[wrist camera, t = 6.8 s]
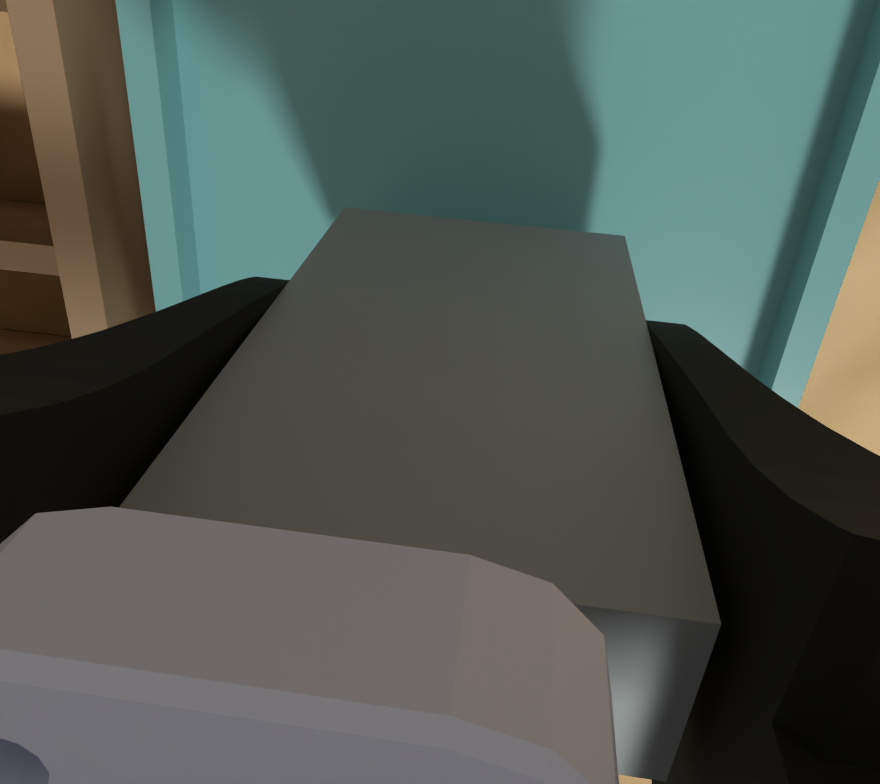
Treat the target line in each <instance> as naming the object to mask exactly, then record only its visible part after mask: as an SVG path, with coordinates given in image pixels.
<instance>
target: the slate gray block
mask: <svg viewBox="0 0 880 784" xmlns="http://www.w3.org/2000/svg"><path fill="white" fill-rule="evenodd" d="M119 508H125V509H132V510H140V511H147V512H155V513H162V514H169V515H177V516H184V517H192V518H199V519H207V520H214V521H222V522H229V523H237V524H244V525H252V526H259V527H266V528H274V529H281V530H289V531H296V532H304V533H311V534H319V535H326V536H334V537H341V538H348V539H356V540H363V541H371V542H378V543H386V544H393V545H401V546H408V547H416V548H423V549H431V550H438V551H445V552H453V553H460V554H468V555H472V556H475V557H478V558H481V559H484V560H487V561H490V562H492V563H495V564H498V565H501V566H504V567H507V568H510V569H513V570H516V571H519V572H522V573H524V574H527V575H530V576H533V577H536V578H539V579H542V580H545V581H548V582H551V583H553V584H554V585H555V586H556V587H557V588H558V589H559V590H560V591H561V592H562V593H563V594H564V595H565V596H566V597H567V598H568V599H569V600H570V601H571V602H572V603H573V604H574V605H575V606H576V607H577V608H578V609H579V610H580V611H581V612H582V613H583V614H584V616H585V617H586V618H587V619H588V620H589V621H590V622H591V623H592V624H593V625H594V626H595V627H596V628H597V629H598V630H599V631H600V632H601V633H602V634H603V635H604V639H605V647H606V654H607V662H608V670H609V678H610V685H611V694H612V706H613V718H614V730H615V742H616V754H617V767H618V774H619V775H626V776H632V777H639V778H646V779H652V780H659V781H666V780H667V777H668V774H669V772H670V769H671V766H672V763H673V760H674V757H675V755H676V752H677V749H678V746H679V743H680V740H681V738H682V735H683V732H684V729H685V726H686V723H687V720H688V718H689V715H690V712H691V709H692V706H693V703H694V701H695V698H696V695H697V692H698V689H699V686H700V684H701V681H702V678H703V675H704V672H705V669H706V666H707V664H708V661H709V658H710V655H711V652H712V649H713V647H714V644H715V641H716V638H717V635H718V632H719V630H720V627H721V621H720V617H719V613H718V609H717V605H716V600H715V596H714V592H713V588H712V584H711V580H710V576H709V572H708V568H707V564H706V560H705V556H704V552H703V548H702V544H701V540H700V536H699V532H698V528H697V524H696V520H695V516H694V512H693V508H692V504H691V500H690V496H689V492H688V488H687V484H686V480H685V476H684V472H683V468H682V464H681V460H680V456H679V452H678V448H677V444H676V440H675V436H674V432H673V428H672V424H671V420H670V416H669V411H668V407H667V403H666V399H665V395H664V391H663V387H662V383H661V379H660V375H659V371H658V367H657V363H656V359H655V355H654V351H653V347H652V343H651V339H650V335H649V331H648V327H647V323H646V319H645V315H644V311H643V307H642V303H641V299H640V295H639V291H638V287H637V283H636V279H635V275H634V271H633V267H632V263H631V259H630V255H629V251H628V247H627V243H626V239H625V236H622V235H612V234H602V233H592V232H582V231H573V230H563V229H553V228H543V227H533V226H523V225H514V224H504V223H494V222H484V221H474V220H464V219H454V218H445V217H435V216H425V215H415V214H405V213H395V212H386V211H376V210H366V209H356V208H346V207H345V208H344V209H343V210H342V211H341V213H340V214H339V215H338V217H337V218H336V219H335V221H334V222H333V223H332V225H331V226H330V227H329V229H328V230H327V231H326V233H325V234H324V235H323V237H322V238H321V239H320V241H319V242H318V243H317V245H316V246H315V247H314V249H313V250H312V251H311V253H310V254H309V255H308V257H307V258H306V259H305V261H304V262H303V263H302V265H301V266H300V267H299V269H298V270H297V271H296V273H295V274H294V275H293V277H292V278H291V279H290V281H289V282H288V283H287V285H286V286H285V287H284V289H283V290H282V291H281V293H280V294H279V295H278V297H277V298H276V299H275V301H274V302H273V303H272V305H271V306H270V307H269V309H268V310H267V311H266V313H265V314H264V315H263V317H262V318H261V319H260V321H259V322H258V323H257V325H256V326H255V327H254V329H253V330H252V331H251V332H250V334H249V335H248V336H247V338H246V339H245V340H244V342H243V343H242V344H241V346H240V347H239V348H238V350H237V351H236V352H235V354H234V355H233V356H232V358H231V359H230V360H229V362H228V363H227V364H226V366H225V367H224V368H223V370H222V371H221V372H220V374H219V375H218V376H217V378H216V379H215V380H214V382H213V383H212V384H211V386H210V387H209V388H208V390H207V391H206V392H205V394H204V395H203V396H202V398H201V399H200V400H199V402H198V403H197V404H196V406H195V407H194V408H193V410H192V411H191V412H190V414H189V415H188V416H187V418H186V419H185V420H184V422H183V423H182V424H181V426H180V427H179V428H178V430H177V431H176V432H175V434H174V435H173V436H172V438H171V439H170V440H169V442H168V443H167V444H166V446H165V447H164V448H163V450H162V451H161V452H160V453H159V455H158V456H157V457H156V459H155V460H154V461H153V463H152V464H151V465H150V467H149V468H148V469H147V471H146V472H145V473H144V475H143V476H142V477H141V479H140V480H139V481H138V483H137V484H136V485H135V487H134V488H133V489H132V491H131V492H130V493H129V495H128V496H127V497H126V499H125V500H124V501H123V503H122V504H121V505H120V507H119Z"/></svg>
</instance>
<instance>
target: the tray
mask: <svg viewBox="0 0 880 784" xmlns="http://www.w3.org/2000/svg"><path fill="white" fill-rule="evenodd" d="M115 2H116V10H117V17H118V25H119V33H120V40H121V48H122V56H123V63H124V71H125V79H126V86H127V94H128V102H129V109H130V117H131V125H132V132H133V140H134V148H135V155H136V163H137V171H138V178H139V186H140V194H141V201H142V209H143V217H144V224H145V232H146V240H147V247H148V255H149V263H150V270H151V278H152V286H153V293H154V301H155V309H156V311H159V310H162V309H165V308H167V307H170V306H172V305H175V304H177V303H180V302H182V301H185V300H188V299H190V298H193V297H195V296H198V295H200V294H203V293H205V292H208V291H211V290H213V289H216V288H218V287H221V286H224V285H226V284H229V283H232V282H235V281H238V280H242V279H245V278H250V277H265V278H274V279H283V280H290V279H291V278H292V277H293V275H294V274H295V273H296V271H297V270H298V269H299V267H300V266H301V265H302V263H303V262H304V261H305V259H306V258H307V257H308V255H309V254H310V253H311V251H312V250H313V249H314V247H315V246H316V245H317V243H318V242H319V241H320V239H321V238H322V237H323V235H324V234H325V233H326V231H327V230H328V229H329V227H330V226H331V225H332V223H333V222H334V221H335V219H336V218H337V217H338V215H339V214H340V213H341V211H342V210H343V209H344V208H345V207H346V208H356V209H366V210H376V211H386V212H395V213H405V214H415V215H425V216H435V217H445V218H454V219H464V220H474V221H484V222H494V223H504V224H514V225H523V226H533V227H543V228H553V229H563V230H573V231H582V232H592V233H602V234H612V235H622V236H625V239H626V243H627V247H628V251H629V255H630V259H631V263H632V267H633V271H634V275H635V279H636V283H637V287H638V291H639V295H640V299H641V303H642V307H643V311H644V315H645V319H646V320H651V321H659V322H668V323H677V324H685V325H687V326H689V327H691V328H692V329H694V330H695V331H697V332H698V333H699V334H701V335H702V336H703V337H705V338H706V339H707V340H709V341H710V342H711V343H712V344H714V345H715V346H716V347H717V348H719V349H720V350H721V351H722V352H724V353H725V354H726V355H727V356H728V357H730V358H731V359H732V360H734V361H735V362H736V363H737V364H739V365H740V366H741V367H742V368H744V369H745V370H746V371H747V372H749V373H750V374H751V375H753V376H754V377H755V378H756V379H758V380H759V381H760V382H762V383H763V384H764V385H766V386H767V387H768V388H770V389H771V390H773V391H774V392H775V393H777V394H778V395H779V396H781V397H782V398H784V399H785V400H787V401H788V402H790V403H791V404H793V405H794V406H796V407H797V408H798V406H799V403H800V400H801V398H802V395H803V392H804V389H805V386H806V384H807V381H808V378H809V375H810V372H811V369H812V367H813V364H814V361H815V358H816V355H817V353H818V350H819V347H820V344H821V341H822V339H823V336H824V333H825V330H826V327H827V325H828V322H829V319H830V316H831V313H832V310H833V308H834V305H835V302H836V299H837V296H838V294H839V291H840V288H841V285H842V282H843V280H844V277H845V274H846V271H847V268H848V266H849V263H850V260H851V257H852V254H853V251H854V249H855V246H856V243H857V240H858V237H859V235H860V232H861V229H862V226H863V223H864V221H865V218H866V215H867V212H868V209H869V207H870V204H871V201H872V198H873V195H874V193H875V190H876V187H877V184H878V181H879V178H880V0H115Z"/></svg>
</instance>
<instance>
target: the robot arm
mask: <svg viewBox="0 0 880 784" xmlns="http://www.w3.org/2000/svg"><path fill="white" fill-rule="evenodd" d="M289 281H290V280H283V279H274V278H265V277H250V278H245V279H242V280H238V281H235V282H232V283H229V284H226V285H224V286H221V287H218V288H216V289H213V290H211V291H208V292H205V293H203V294H200V295H198V296H195V297H193V298H190V299H188V300H185V301H182V302H180V303H177V304H175V305H172V306H170V307H167V308H165V309H162V310H159V311H156V312H154V313H151V314H148V315H145V316H142V317H139V318H136V319H133V320H130V321H128V322H125V323H122V324H119V325H116V326H113V327H110V328H107V329H105V330H101V331H98V332H95V333H91V334H88V335H84V336H81V337H77V338H74V339H70V340H66V341H62V342H58V343H54V344H50V345H46V346H41V347H37V348H33V349H28V350H24V351H19V352H13V353H7V354H1V355H0V784H619V779H618V767H617V754H616V742H615V730H614V718H613V706H612V694H611V685H610V678H609V670H608V662H607V654H606V647H605V639H604V635H603V634H602V633H601V632H600V631H599V630H598V629H597V628H596V627H595V626H594V625H593V624H592V623H591V622H590V621H589V620H588V619H587V618H586V617H585V616H584V614H583V613H582V612H581V611H580V610H579V609H578V608H577V607H576V606H575V605H574V604H573V603H572V602H571V601H570V600H569V599H568V598H567V597H566V596H565V595H564V594H563V593H562V592H561V591H560V590H559V589H558V588H557V587H556V586H555V585H554V584H553V583H551V582H548V581H545V580H542V579H539V578H536V577H533V576H530V575H527V574H524V573H522V572H519V571H516V570H513V569H510V568H507V567H504V566H501V565H498V564H495V563H492V562H490V561H487V560H484V559H481V558H478V557H475V556H472V555H468V554H460V553H453V552H445V551H438V550H431V549H423V548H416V547H408V546H401V545H393V544H386V543H378V542H371V541H363V540H356V539H348V538H341V537H334V536H326V535H319V534H311V533H304V532H296V531H289V530H281V529H274V528H266V527H259V526H252V525H244V524H237V523H229V522H222V521H214V520H207V519H199V518H192V517H184V516H177V515H169V514H162V513H155V512H147V511H140V510H132V509H125V508H119V507H120V505H121V504H122V503H123V501H124V500H125V499H126V497H127V496H128V495H129V493H130V492H131V491H132V489H133V488H134V487H135V485H136V484H137V483H138V481H139V480H140V479H141V477H142V476H143V475H144V473H145V472H146V471H147V469H148V468H149V467H150V465H151V464H152V463H153V461H154V460H155V459H156V457H157V456H158V455H159V453H160V452H161V451H162V450H163V448H164V447H165V446H166V444H167V443H168V442H169V440H170V439H171V438H172V436H173V435H174V434H175V432H176V431H177V430H178V428H179V427H180V426H181V424H182V423H183V422H184V420H185V419H186V418H187V416H188V415H189V414H190V412H191V411H192V410H193V408H194V407H195V406H196V404H197V403H198V402H199V400H200V399H201V398H202V396H203V395H204V394H205V392H206V391H207V390H208V388H209V387H210V386H211V384H212V383H213V382H214V380H215V379H216V378H217V376H218V375H219V374H220V372H221V371H222V370H223V368H224V367H225V366H226V364H227V363H228V362H229V360H230V359H231V358H232V356H233V355H234V354H235V352H236V351H237V350H238V348H239V347H240V346H241V344H242V343H243V342H244V340H245V339H246V338H247V336H248V335H249V334H250V332H251V331H252V330H253V329H254V327H255V326H256V325H257V323H258V322H259V321H260V319H261V318H262V317H263V315H264V314H265V313H266V311H267V310H268V309H269V307H270V306H271V305H272V303H273V302H274V301H275V299H276V298H277V297H278V295H279V294H280V293H281V291H282V290H283V289H284V287H285V286H286V285H287V283H288V282H289ZM646 323H647V327H648V331H649V335H650V339H651V343H652V347H653V351H654V355H655V359H656V363H657V367H658V371H659V375H660V379H661V383H662V387H663V391H664V395H665V399H666V403H667V407H668V411H669V416H670V420H671V424H672V428H673V432H674V436H675V440H676V444H677V448H678V452H679V456H680V460H681V464H682V468H683V472H684V476H685V480H686V484H687V488H688V492H689V496H690V500H691V504H692V508H693V512H694V516H695V520H696V524H697V528H698V532H699V536H700V540H701V544H702V548H703V552H704V556H705V560H706V564H707V568H708V572H709V576H710V580H711V584H712V588H713V592H714V596H715V600H716V605H717V609H718V613H719V617H720V621H721V627H720V630H719V632H718V635H717V638H716V641H715V644H714V647H713V649H712V652H711V655H710V658H709V661H708V664H707V666H706V669H705V672H704V675H703V678H702V681H701V684H700V686H699V689H698V692H697V695H696V698H695V701H694V703H693V706H692V709H691V712H690V715H689V718H688V720H687V723H686V726H685V729H684V732H683V735H682V738H681V740H680V743H679V746H678V749H677V752H676V755H675V757H674V760H673V763H672V766H671V769H670V772H669V774H668V777H667V780H666V781H659V780H652V784H880V456H878V455H876V454H875V453H873V452H871V451H869V450H867V449H865V448H864V447H862V446H860V445H858V444H856V443H855V442H853V441H851V440H849V439H847V438H846V437H844V436H842V435H840V434H838V433H837V432H835V431H833V430H831V429H830V428H828V427H826V426H825V425H823V424H821V423H820V422H818V421H817V420H815V419H813V418H812V417H810V416H809V415H807V414H806V413H804V412H803V411H801V410H800V409H799V408H797V407H796V406H794V405H793V404H791V403H790V402H788V401H787V400H785V399H784V398H782V397H781V396H779V395H778V394H777V393H775V392H774V391H773V390H771V389H770V388H768V387H767V386H766V385H764V384H763V383H762V382H760V381H759V380H758V379H756V378H755V377H754V376H753V375H751V374H750V373H749V372H747V371H746V370H745V369H744V368H742V367H741V366H740V365H739V364H737V363H736V362H735V361H734V360H732V359H731V358H730V357H728V356H727V355H726V354H725V353H724V352H722V351H721V350H720V349H719V348H717V347H716V346H715V345H714V344H712V343H711V342H710V341H709V340H707V339H706V338H705V337H703V336H702V335H701V334H699V333H698V332H697V331H695V330H694V329H692V328H691V327H689V326H687V325H685V324H677V323H668V322H659V321H651V320H646Z"/></svg>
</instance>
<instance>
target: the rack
mask: <svg viewBox="0 0 880 784" xmlns="http://www.w3.org/2000/svg"><path fill="white" fill-rule="evenodd" d="M0 11H4V12H8V14H9V19H10V24H11V29H12V35H13V40H14V45H15V50H16V55H17V60H18V65H19V70H20V76H21V81H22V86H23V91H24V96H25V101H26V106H27V112H28V117H29V122H30V127H31V132H32V137H33V142H34V148H35V153H36V158H37V163H38V168H39V173H40V178H41V183H42V189H43V194H44V199H45V204H40V203H31V202H22V201H12V200H3V199H0V269H2V270H11V271H20V272H29V273H38V274H46V275H55V276H60V281H61V286H62V291H63V296H64V302H65V307H66V312H67V317H68V322H69V327H70V332H71V337H63V336H55V335H46V334H38V333H29V332H21V331H13V330H4V329H0V355H1V354H7V353H13V352H19V351H24V350H28V349H33V348H37V347H41V346H46V345H50V344H54V343H58V342H62V341H66V340H70V339H74V338H77V337H81V336H84V335H88V334H91V333H95V332H98V331H101V330H105V329H107V328H110V327H113V326H116V325H119V324H122V323H125V322H128V321H130V320H133V319H136V318H139V317H142V316H145V315H148V314H151V313H154V312H156V309H155V301H154V293H153V286H152V278H151V270H150V263H149V255H148V247H147V240H146V232H145V224H144V217H143V209H142V201H141V194H140V186H139V178H138V171H137V163H136V155H135V148H134V140H133V132H132V125H131V117H130V109H129V102H128V94H127V86H126V79H125V71H124V63H123V56H122V48H121V40H120V33H119V25H118V17H117V10H116V2H115V0H0Z"/></svg>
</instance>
